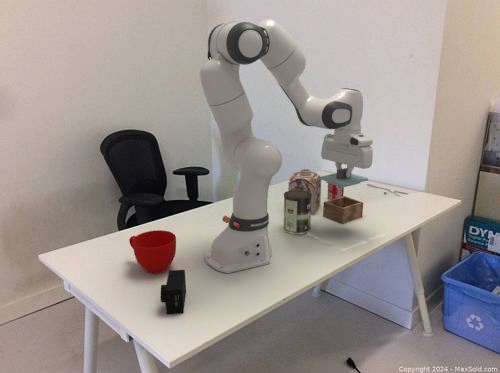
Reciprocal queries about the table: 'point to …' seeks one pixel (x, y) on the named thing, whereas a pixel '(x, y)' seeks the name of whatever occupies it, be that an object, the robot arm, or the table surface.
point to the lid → (343, 179)
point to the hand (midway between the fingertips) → (343, 176)
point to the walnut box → (342, 209)
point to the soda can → (334, 191)
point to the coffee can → (297, 211)
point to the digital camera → (174, 292)
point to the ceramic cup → (154, 250)
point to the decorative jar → (307, 186)
